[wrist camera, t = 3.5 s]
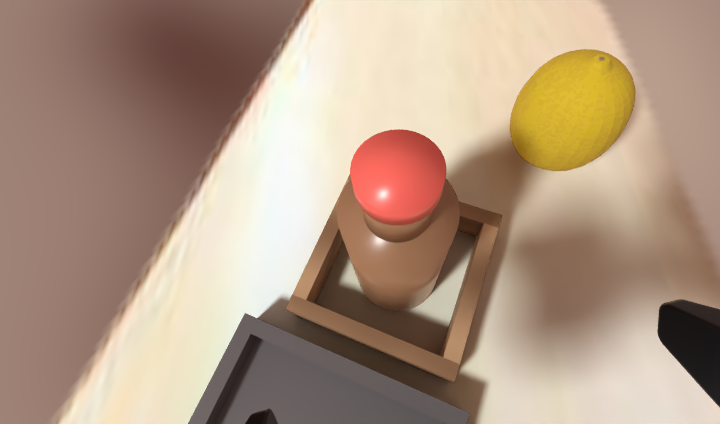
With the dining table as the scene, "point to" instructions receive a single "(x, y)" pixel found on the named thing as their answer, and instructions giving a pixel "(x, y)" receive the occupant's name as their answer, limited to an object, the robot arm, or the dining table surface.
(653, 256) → the dining table surface
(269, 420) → the robot arm
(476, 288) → the stand
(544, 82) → the lemon
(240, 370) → the tray
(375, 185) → the bottle
